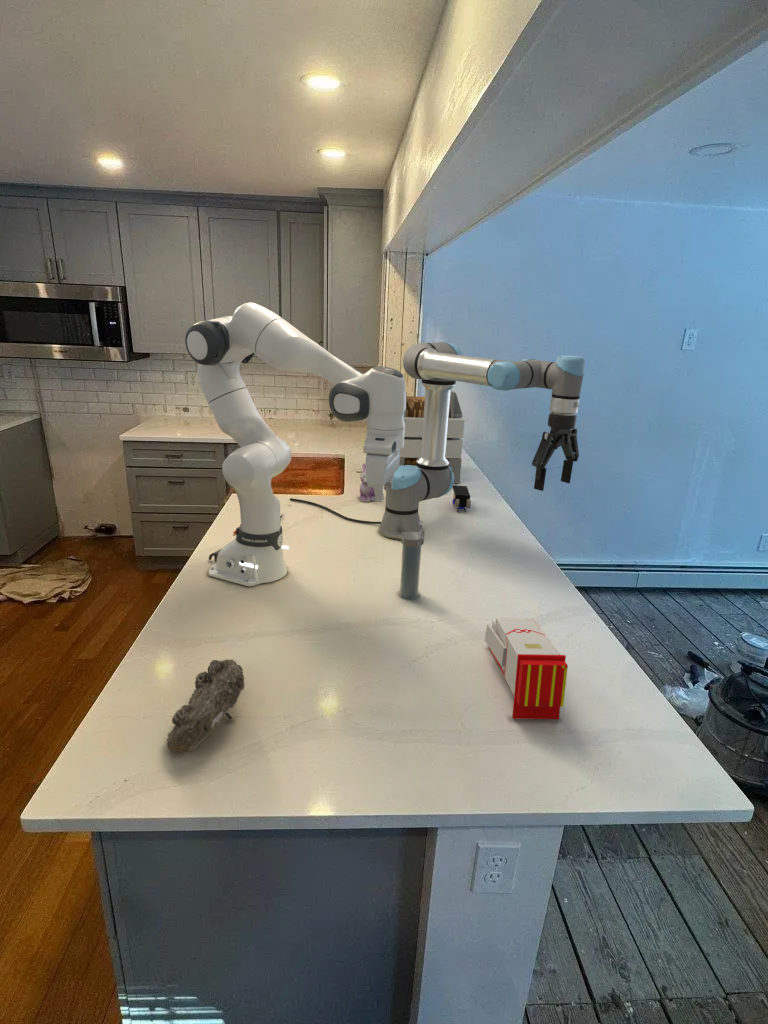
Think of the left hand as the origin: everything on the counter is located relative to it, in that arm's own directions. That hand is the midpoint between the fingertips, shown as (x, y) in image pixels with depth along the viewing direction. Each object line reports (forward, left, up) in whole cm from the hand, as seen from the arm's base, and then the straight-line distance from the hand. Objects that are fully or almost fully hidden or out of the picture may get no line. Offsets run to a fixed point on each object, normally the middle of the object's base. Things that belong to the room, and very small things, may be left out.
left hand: (383, 495), depth 137 cm
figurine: (-26, +89, -32) cm, 98 cm away
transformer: (-12, +136, -32) cm, 140 cm away
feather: (-51, +57, -32) cm, 83 cm away
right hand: (+42, +39, -4) cm, 57 cm away
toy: (+36, -18, -32) cm, 51 cm away
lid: (+6, +13, -15) cm, 20 cm away
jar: (+6, +13, -32) cm, 35 cm away
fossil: (-21, -47, -32) cm, 61 cm away
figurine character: (+12, +91, -32) cm, 98 cm away
